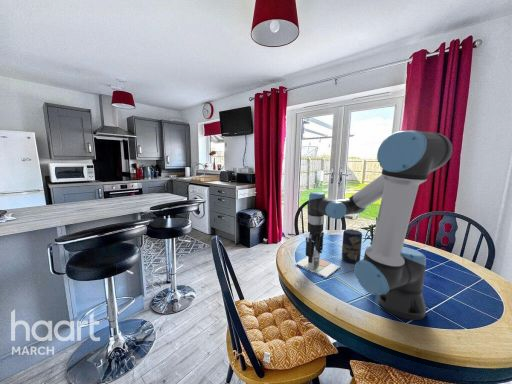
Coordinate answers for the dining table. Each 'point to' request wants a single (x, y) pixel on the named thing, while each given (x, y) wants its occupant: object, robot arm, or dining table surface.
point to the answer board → (320, 267)
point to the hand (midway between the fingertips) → (313, 266)
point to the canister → (351, 245)
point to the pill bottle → (315, 258)
